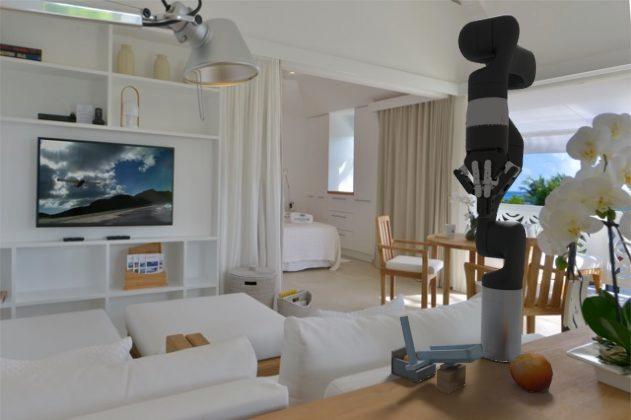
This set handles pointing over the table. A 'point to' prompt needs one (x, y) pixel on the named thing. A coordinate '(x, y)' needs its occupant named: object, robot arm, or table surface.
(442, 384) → the fulcrum
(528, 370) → the fruit
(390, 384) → the table surface
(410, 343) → the lever
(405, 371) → the tray
